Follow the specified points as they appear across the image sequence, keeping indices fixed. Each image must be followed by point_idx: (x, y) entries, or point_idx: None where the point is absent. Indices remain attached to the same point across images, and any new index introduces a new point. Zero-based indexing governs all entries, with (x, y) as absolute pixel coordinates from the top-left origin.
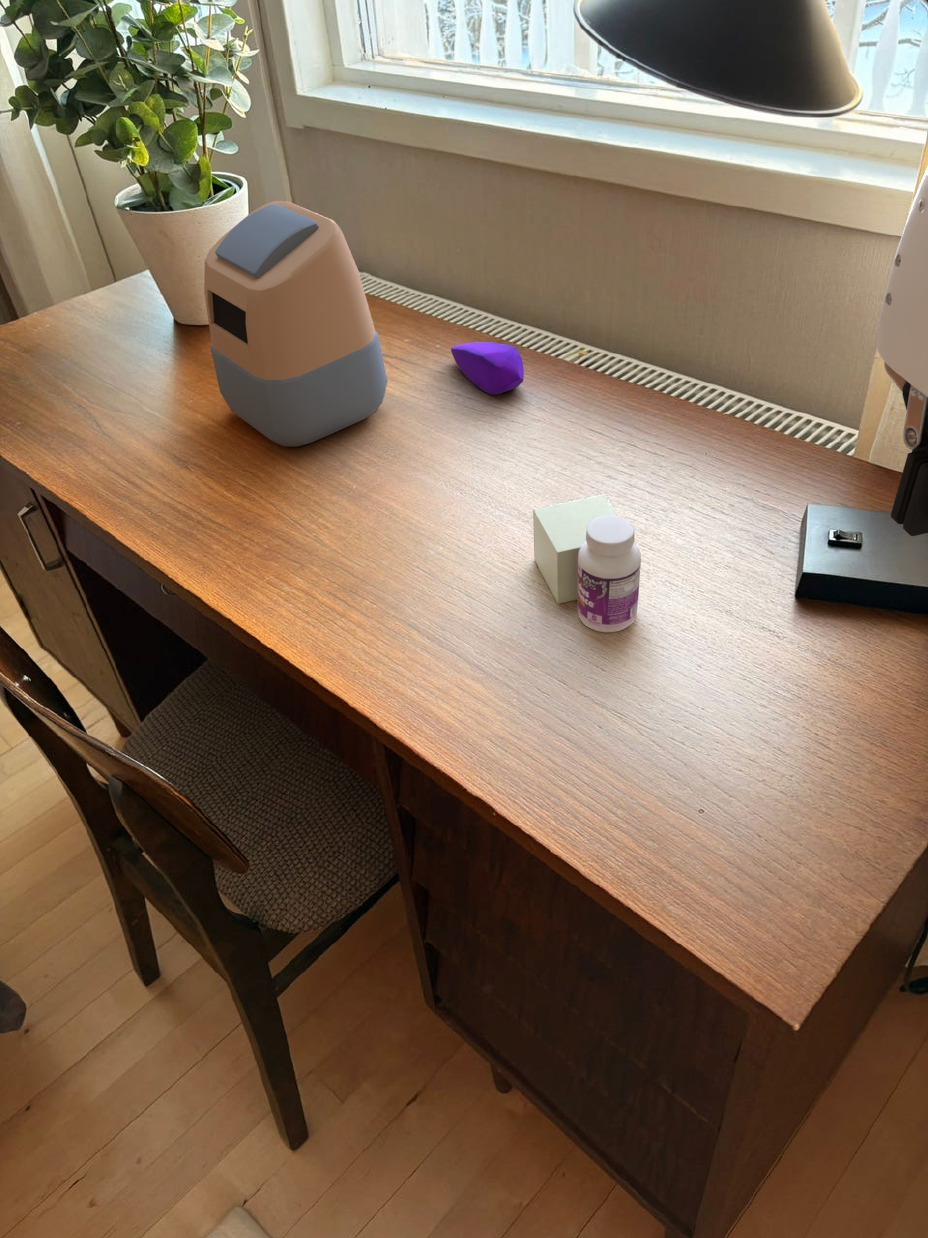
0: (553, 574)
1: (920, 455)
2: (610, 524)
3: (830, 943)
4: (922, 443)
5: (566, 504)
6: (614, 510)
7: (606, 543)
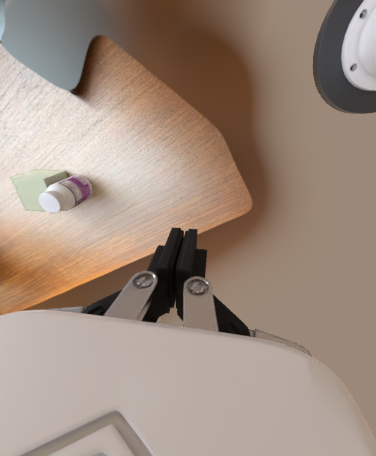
0: None
1: (167, 308)
2: (46, 202)
3: (241, 185)
4: (160, 316)
5: (20, 196)
6: (23, 177)
7: (60, 209)
